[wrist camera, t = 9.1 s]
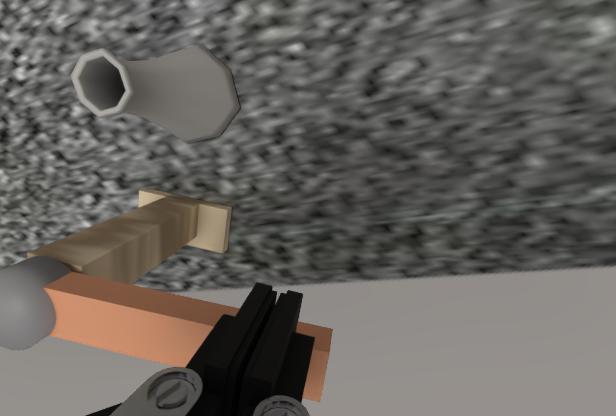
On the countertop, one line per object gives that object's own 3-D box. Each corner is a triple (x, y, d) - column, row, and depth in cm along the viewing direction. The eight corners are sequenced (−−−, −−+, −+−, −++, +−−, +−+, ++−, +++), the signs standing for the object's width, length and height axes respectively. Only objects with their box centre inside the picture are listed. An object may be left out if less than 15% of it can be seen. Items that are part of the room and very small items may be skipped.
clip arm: (322, 384, 15) (304, 508, 10) (23, 312, 17) (-111, 389, 12) (334, 318, 14) (320, 422, 9) (14, 249, 16) (-136, 306, 11)
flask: (187, 158, 27) (95, 180, 18) (137, 80, 26) (10, 60, 17) (256, 112, 25) (194, 108, 16) (205, 26, 24) (105, -32, 15)
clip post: (232, 207, 28) (128, 278, 16) (227, 248, 29) (127, 346, 17) (146, 188, 29) (-17, 241, 16) (145, 229, 30) (-8, 308, 17)
